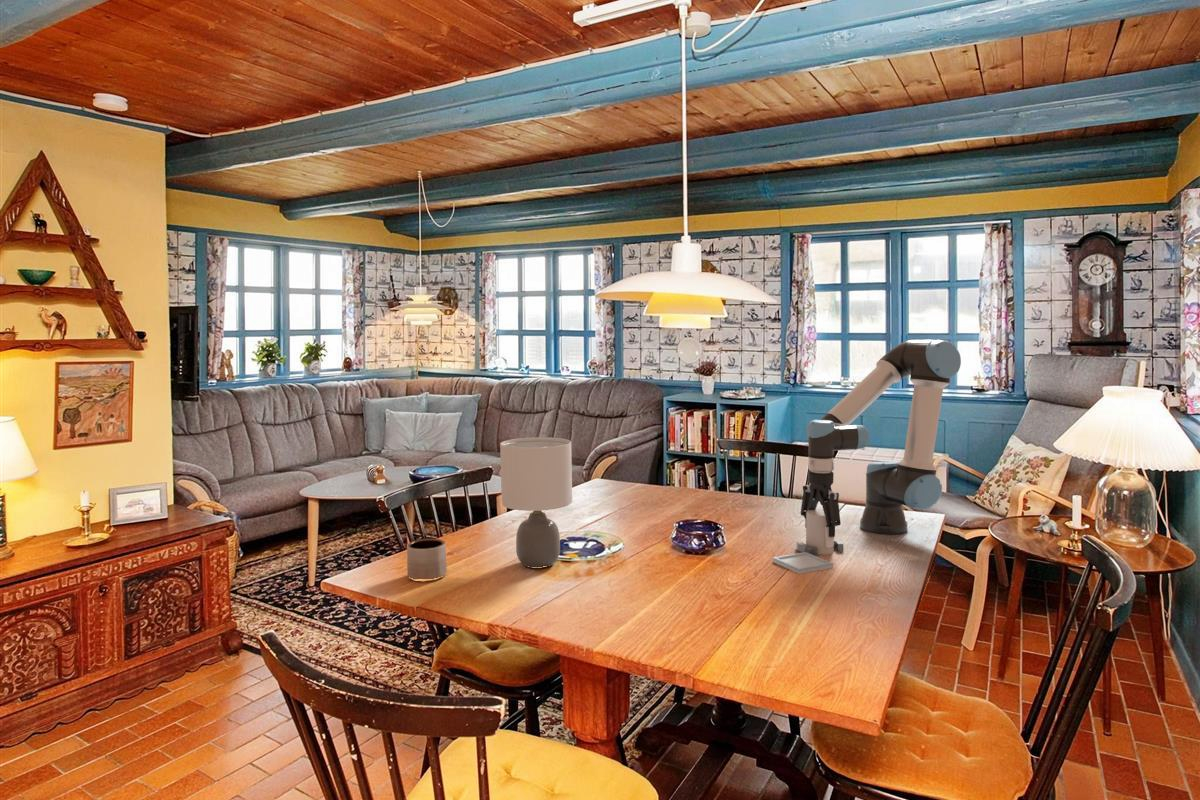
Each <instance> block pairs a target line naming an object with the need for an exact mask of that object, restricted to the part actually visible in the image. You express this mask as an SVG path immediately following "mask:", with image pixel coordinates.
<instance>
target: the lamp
mask: <svg viewBox="0 0 1200 800" xmlns="http://www.w3.org/2000/svg"><path fill="white" fill-rule="evenodd" d="M499 444H500V445H499V446H500V449H499V450H500V452H499V453H500V454H499V455H500V479H501V481H500V484H501V506H502V507H504V508H507V509H510V510H514V511H527V512H530V511H531V513H529V515H528V517H527V519H525V520H523V521H522V522H521V523H520V525H518V528H517V530H516V538H515V541H516V542H515V551H516V556H517V559H518V561H519V562H520V564H522V565H523V566H524V565H525V566H524V567H526V566H529V567H543V566H549V565H551V566H553V565H554V564H555V563H556V562H557V560H558V558H559V556H560V552H561V538H560V530H559V528H558V526H557V524H556V523H555V521H554V520H552V519H550V518H548V517H547V515H546V513H545V512H544V511H550V510H551V511H552V510H556V509H562V508H565V507H568V506H569V505H571V504H572V503H573V470H572V469H573V467H572V466H573V464H572V463H573V462H572V457H573V456H572V441H571V440H570V439H565V438H561V437H551V436H550V437H547V436H546V437H544V436H543V437H539V436H537V437H535V436H533V437H521V438H513V439H509V440H508V439H507V440H504V441H501V442H500V443H499ZM552 564H553V565H552ZM549 567H550V566H549Z"/></svg>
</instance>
